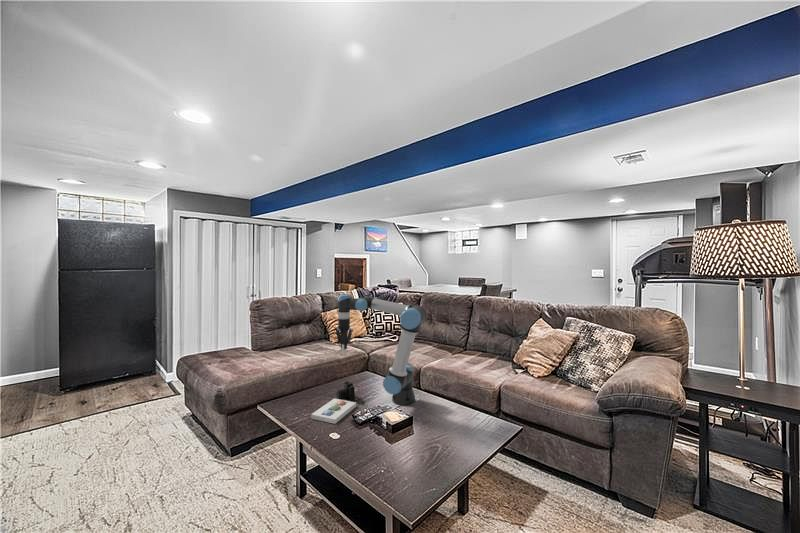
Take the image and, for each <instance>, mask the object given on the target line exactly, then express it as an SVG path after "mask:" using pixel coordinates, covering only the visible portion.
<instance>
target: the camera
mask: <svg viewBox="0 0 800 533" xmlns="http://www.w3.org/2000/svg"><path fill="white" fill-rule="evenodd" d="M355 392H356V391H355V386H354V383H353V382H350V381H348V380H345V381H344V382H343V388H341V389H338V390H336V399H340V400H346V401H351V402H355V400H356V399H355V397H356V395H355Z"/></svg>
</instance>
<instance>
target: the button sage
mask: <svg viewBox="0 0 800 533" xmlns="http://www.w3.org/2000/svg"><path fill="white" fill-rule="evenodd" d="M338 409H339V404H338V403H333V404H331V410H333V411H337V410H338Z"/></svg>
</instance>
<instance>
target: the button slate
mask: <svg viewBox="0 0 800 533" xmlns="http://www.w3.org/2000/svg"><path fill="white" fill-rule="evenodd" d="M324 415H326V416H331V415H332V410H325V411H324Z"/></svg>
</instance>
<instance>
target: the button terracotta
mask: <svg viewBox="0 0 800 533" xmlns="http://www.w3.org/2000/svg"><path fill="white" fill-rule="evenodd" d="M337 403H338V404H339V406H344V405H345V401H342V400H341V401H338V402H337Z"/></svg>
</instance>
